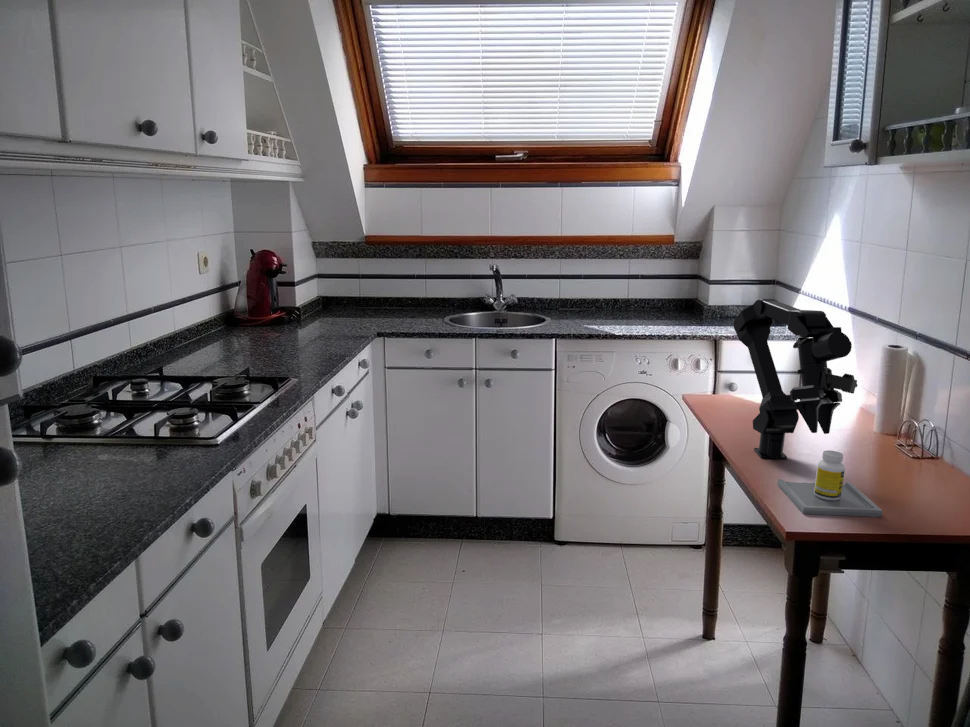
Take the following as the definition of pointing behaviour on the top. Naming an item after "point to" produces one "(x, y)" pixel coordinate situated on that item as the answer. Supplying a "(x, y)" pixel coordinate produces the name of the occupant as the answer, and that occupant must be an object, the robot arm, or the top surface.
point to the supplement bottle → (829, 476)
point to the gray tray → (847, 505)
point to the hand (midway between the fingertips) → (820, 433)
